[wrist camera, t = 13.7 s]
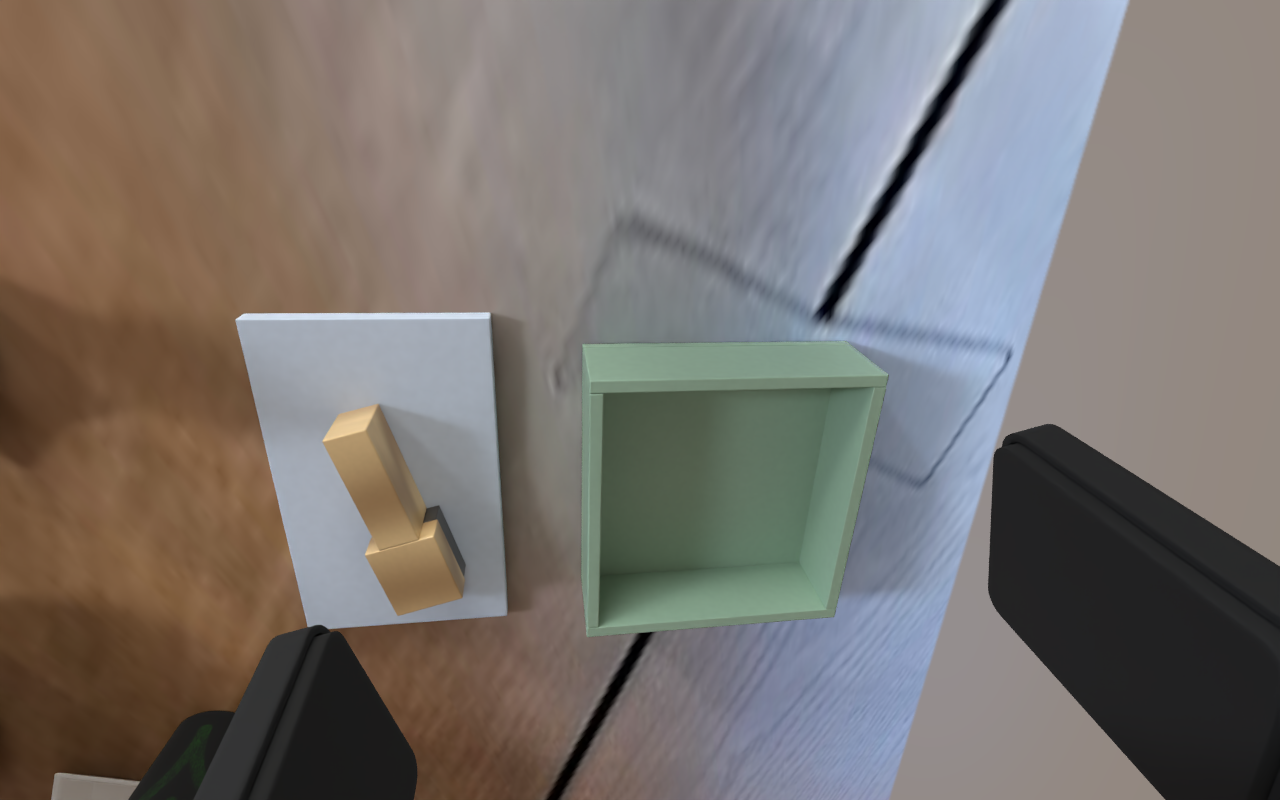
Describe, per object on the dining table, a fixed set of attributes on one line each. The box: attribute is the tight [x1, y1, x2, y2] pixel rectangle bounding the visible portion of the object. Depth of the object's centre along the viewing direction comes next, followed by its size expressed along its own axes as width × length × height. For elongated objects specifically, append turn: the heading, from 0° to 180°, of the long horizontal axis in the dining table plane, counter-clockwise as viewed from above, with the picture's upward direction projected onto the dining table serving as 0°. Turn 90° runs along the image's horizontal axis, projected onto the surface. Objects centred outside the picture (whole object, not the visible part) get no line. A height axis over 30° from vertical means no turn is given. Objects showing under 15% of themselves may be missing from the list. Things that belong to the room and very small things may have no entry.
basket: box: [581, 341, 888, 637], centre depth 37 cm, size 16×15×5 cm
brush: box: [322, 404, 466, 616], centre depth 35 cm, size 12×4×3 cm, turn 13°
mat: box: [236, 313, 508, 629], centre depth 36 cm, size 20×12×1 cm, turn 178°
